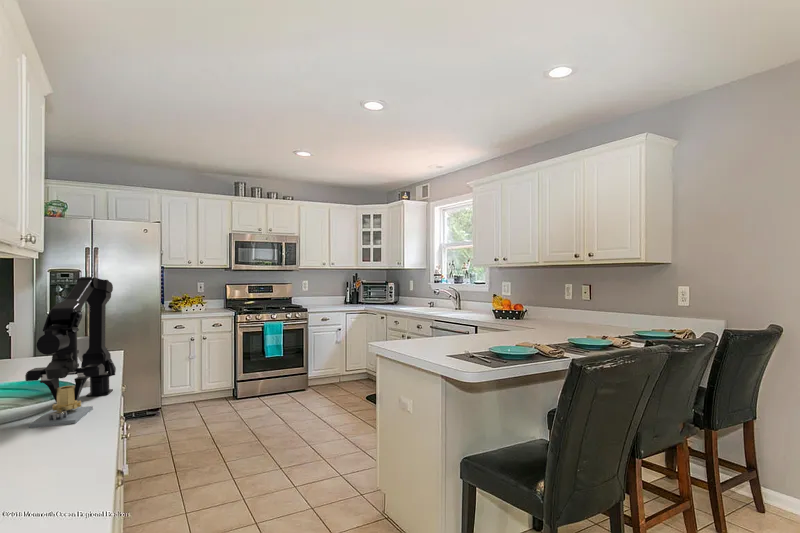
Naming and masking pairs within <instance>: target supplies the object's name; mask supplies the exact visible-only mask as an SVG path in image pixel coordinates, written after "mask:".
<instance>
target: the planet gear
mask: <svg viewBox="0 0 800 533" xmlns="http://www.w3.org/2000/svg"><path fill="white" fill-rule="evenodd" d="M56 391H57V402H56V403H53V404H52V406H51V408H52V409H51V410H53V411H55V410H57V411H63V410H65V411H66V410H70V409H76V408H77V407H82V400H75V385H73V384H71V385H64V386H59V388H57V389H56Z"/></svg>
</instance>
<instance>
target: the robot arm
mask: <svg viewBox="0 0 800 533" xmlns="http://www.w3.org/2000/svg"><path fill="white" fill-rule="evenodd" d="M113 290H114V287H113V283H112V282H111V281H110V280H108V279H101V278H98V277H95V276H81V277H78V278H77V280H76V283H75V285H74V286H73V288H72V289H71V291H70V292H69V293H68V295H67V297H66V298H65V299H64V300H63V301H61V302H58V303H56V304H55V305H54V306H53V307H52V308H50V310H49V311H48V313H47V317H46V320H45V323H44V326H43V329H42V332H44V333H43V335H42V336H40V337H39V338H38V340H37V341H36V345H35V346H36V348H37V350H38V352H39V353H41V354H42V355H46V356H47V355H48V356H50V355H51V361H50V362H49V363H48V364H47V366H46V367H45V366H43V367H34V368H32V369H29V370H27V371H26V373H25V380H24V381H25V382H34V381H39V383H40V384H44V385H46V386H47V388H48V389H49V391H50V393H51V395H52V396H53V398H54V401H55V402H56V403H57V391H56V389H57V388H59V387H60V379H65V378H66V377H67V376H71V375H72V376H73V375H77V377H75V378H74V379H73V380H74V383H75V385H74V386H75V400H77V401H79V398H80V395H81V392H82V390H83V389H84V387H83V386H84V384H85V382H86V380H87V379H90V387H89V393H88V394H86V397H98V396H108V395H109V394H110V393H112V392H113V391H114V389H113V388H110V377H112V376H113V377H114V376H116V370H117V369H116V365H115V363H114V361H113V360H112V358H111V353H110V351H109V349H108V348H107V347H106V309H107V308H106V305H107V304H108V302H109V301H110V299H111V298H112V293H113ZM85 303H87V305H89V311H88V314H89V317H88V318H89V319H88V323H89V324H88V325H89V326H88V329H89V330H88V336H89V349H88V350H87V352H86V353H84V354H83V356H82V359H83V361H82V362H81V367H80V363H79V361H78V360H79V358H78V353H79V350H77V337H78V332H79V331H80V329H79V325H80V324H81V321H82V318H83V313H82V308H83V306H84V304H85Z"/></svg>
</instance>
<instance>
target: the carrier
mask: <svg viewBox="0 0 800 533" xmlns="http://www.w3.org/2000/svg"><path fill="white" fill-rule="evenodd" d="M93 408H94V406H93V405H90V406H89V405H88V406H81V407H77V408H76V409H70V410H66V411H65V410H63V411H57V410H55V411H53V410H52V409H50V410H49V411H47V412H46V413H44V414H42V415H41V416H40V417H39V418H38V417H37V419H35V420H34V421H32V422H31V423H29V428H31V429H33V428H44V427H52V426H64V425H71V423H75V424H77V423H78V422H79V421H80V420H82V419H83V418H84V417H85V416H87V415H88V414H89V413H90V412H91V411H92V410H94V409H93ZM88 412H89V413H88ZM87 413H88V414H87ZM83 416H84V417H83ZM82 417H83V418H82ZM81 418H82V419H81ZM77 421H78V422H77ZM76 422H77V423H76Z"/></svg>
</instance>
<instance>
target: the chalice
mask: <svg viewBox="0 0 800 533" xmlns="http://www.w3.org/2000/svg"><path fill="white" fill-rule="evenodd" d="M88 349H89V335H87V336H79V337H78V336H77V350H79V353H78V360H79V361H80V362H81V363H82V361H83V359H82V356H83V354H84V353H86V352H87V350H88ZM83 388H90V378H88V379H87V380H86V382H85V384H84V386H83Z"/></svg>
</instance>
